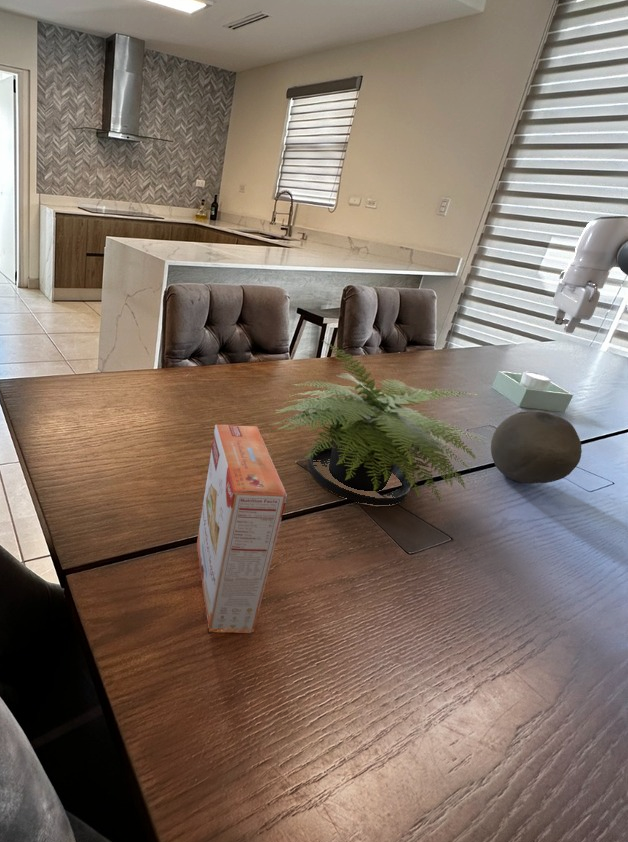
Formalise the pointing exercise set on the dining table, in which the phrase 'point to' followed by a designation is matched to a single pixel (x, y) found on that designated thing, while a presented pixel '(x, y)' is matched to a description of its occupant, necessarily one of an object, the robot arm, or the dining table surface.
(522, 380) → the white short cylinder
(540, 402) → the dish tub
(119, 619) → the dining table surface
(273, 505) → the cracker box
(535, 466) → the dark brown rounded lump
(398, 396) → the fern plant
